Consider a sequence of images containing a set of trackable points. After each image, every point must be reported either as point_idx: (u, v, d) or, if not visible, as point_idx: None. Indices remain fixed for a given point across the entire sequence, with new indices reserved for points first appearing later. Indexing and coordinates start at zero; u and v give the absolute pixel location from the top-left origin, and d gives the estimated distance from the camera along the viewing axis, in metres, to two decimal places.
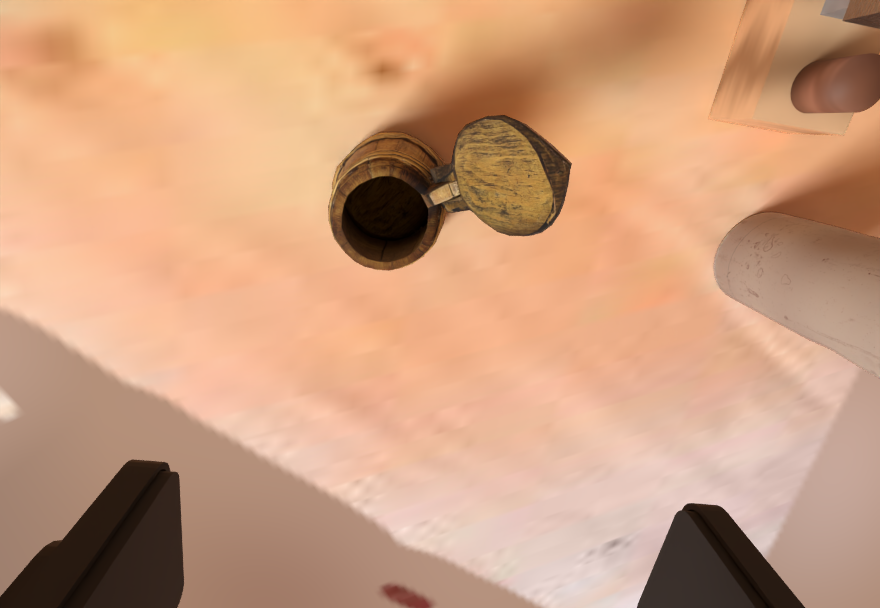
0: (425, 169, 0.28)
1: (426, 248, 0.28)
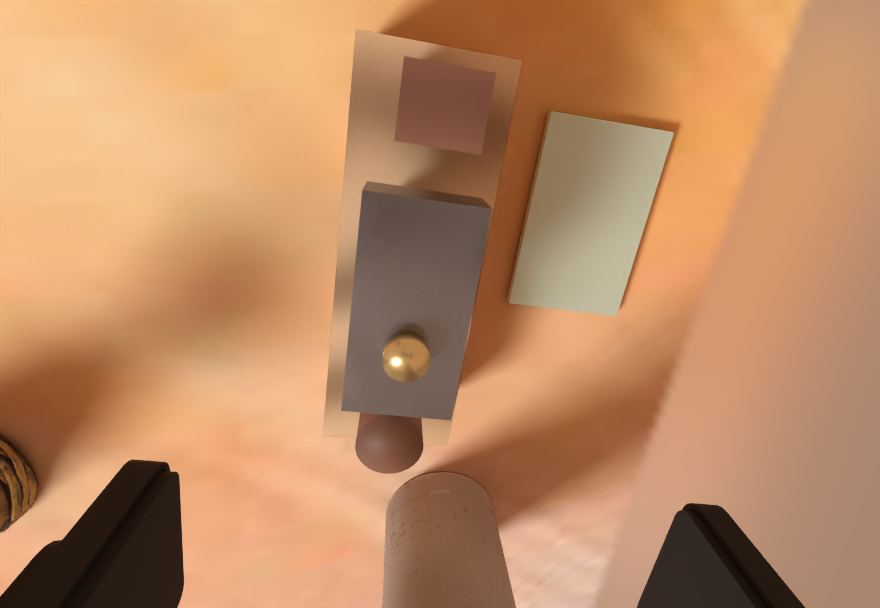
0: None
1: None
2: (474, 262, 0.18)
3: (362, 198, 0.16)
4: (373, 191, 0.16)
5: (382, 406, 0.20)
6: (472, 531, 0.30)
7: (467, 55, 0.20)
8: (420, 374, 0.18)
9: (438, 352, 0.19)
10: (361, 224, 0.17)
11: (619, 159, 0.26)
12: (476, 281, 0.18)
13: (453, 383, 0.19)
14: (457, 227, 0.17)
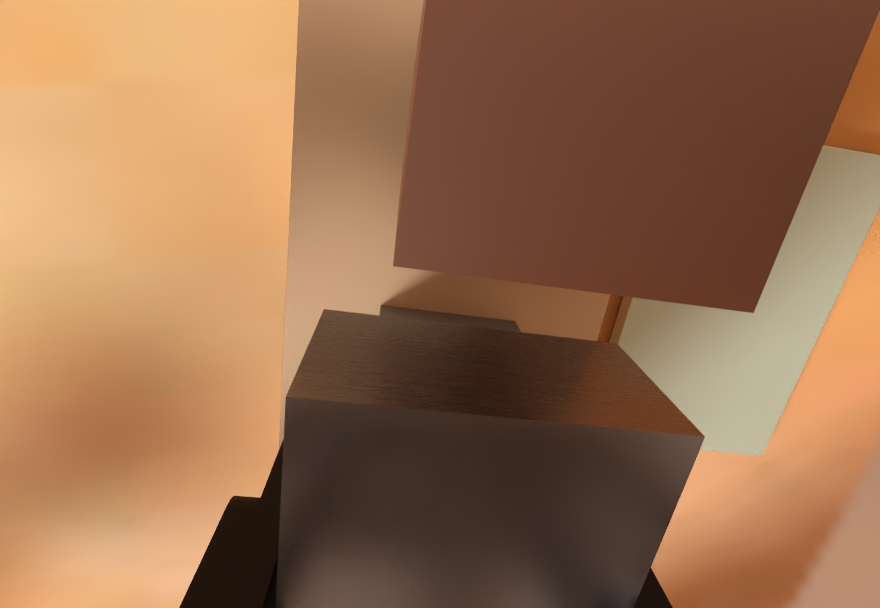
0: None
1: None
2: (629, 568, 0.06)
3: (288, 422, 0.05)
4: (325, 395, 0.05)
5: None
6: None
7: None
8: None
9: None
10: (290, 489, 0.05)
11: (799, 207, 0.15)
12: (627, 607, 0.06)
13: None
14: (588, 489, 0.06)
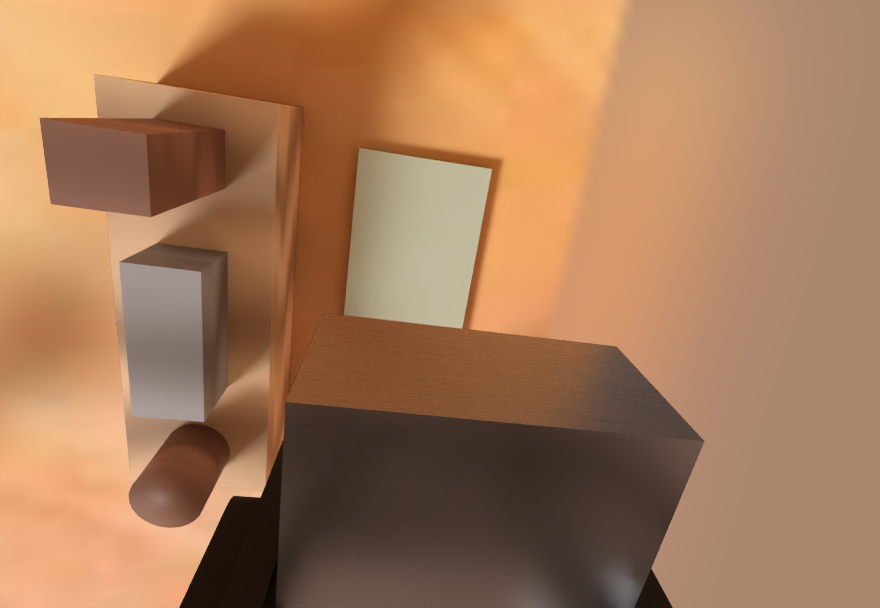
0: None
1: None
2: (628, 571, 0.06)
3: (287, 427, 0.05)
4: (325, 401, 0.05)
5: None
6: None
7: (218, 100, 0.19)
8: None
9: None
10: (289, 494, 0.05)
11: (437, 196, 0.25)
12: None
13: None
14: (587, 493, 0.06)
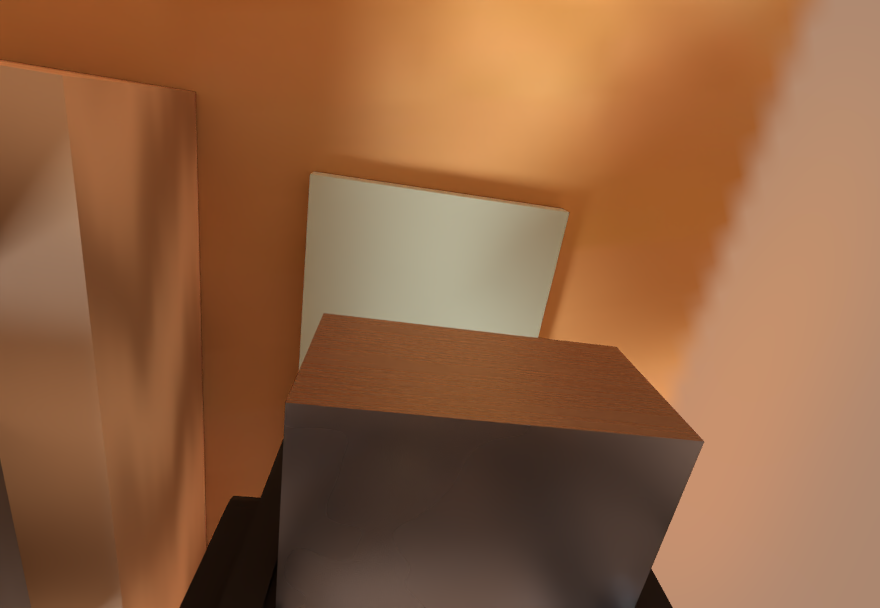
0: None
1: None
2: (628, 572, 0.06)
3: (287, 427, 0.05)
4: (325, 401, 0.05)
5: None
6: None
7: None
8: None
9: None
10: (289, 494, 0.05)
11: (464, 263, 0.13)
12: None
13: None
14: (588, 493, 0.06)
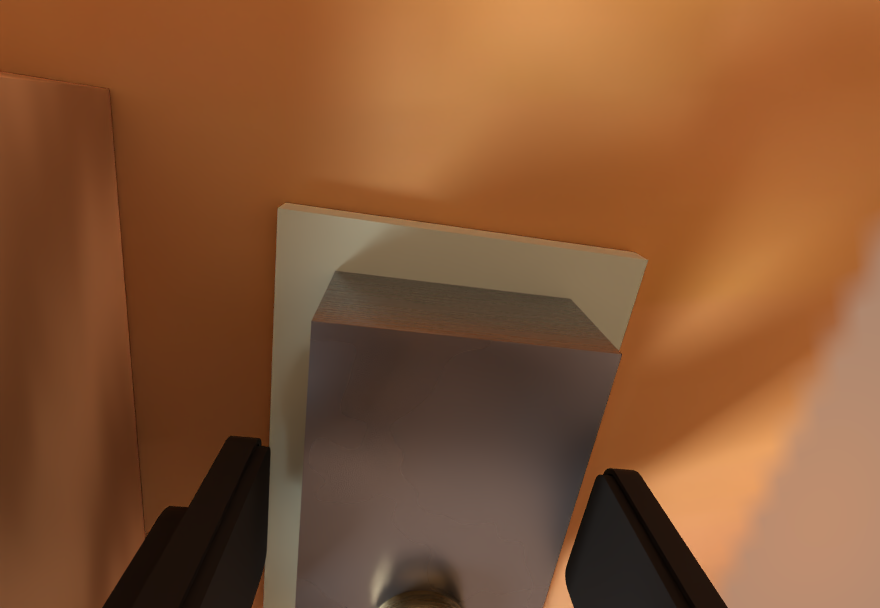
0: None
1: None
2: (571, 462, 0.08)
3: (312, 340, 0.07)
4: (339, 321, 0.07)
5: None
6: None
7: None
8: None
9: None
10: (313, 394, 0.07)
11: None
12: (573, 496, 0.08)
13: None
14: (536, 396, 0.07)
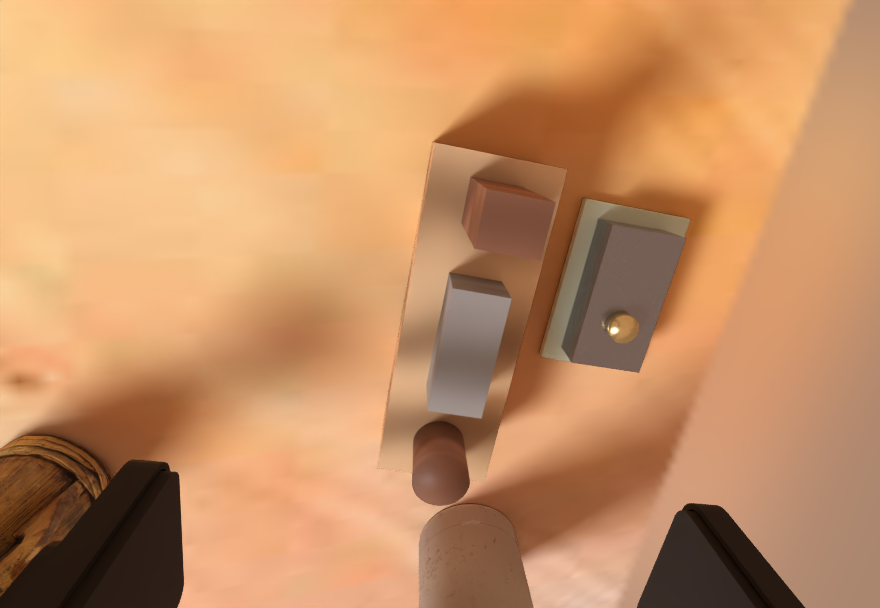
0: None
1: None
2: (670, 270, 0.29)
3: (612, 229, 0.28)
4: (618, 225, 0.28)
5: (598, 361, 0.31)
6: (501, 560, 0.33)
7: (523, 164, 0.24)
8: (631, 338, 0.29)
9: (639, 326, 0.30)
10: (608, 244, 0.28)
11: None
12: (669, 281, 0.29)
13: (644, 347, 0.30)
14: (663, 248, 0.28)
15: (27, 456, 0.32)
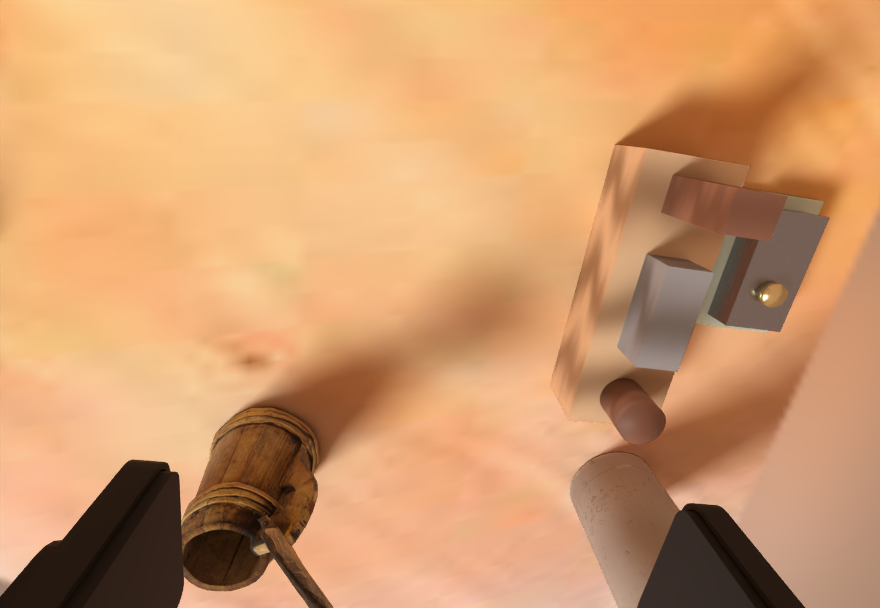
0: (261, 503, 0.32)
1: (261, 573, 0.32)
2: (814, 244, 0.35)
3: None
4: None
5: (747, 323, 0.37)
6: (660, 494, 0.40)
7: (716, 163, 0.30)
8: (780, 303, 0.35)
9: None
10: None
11: None
12: (812, 254, 0.35)
13: (786, 310, 0.36)
14: (810, 227, 0.34)
15: (262, 424, 0.38)
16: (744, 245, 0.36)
